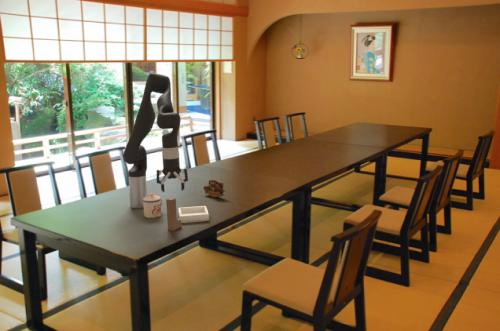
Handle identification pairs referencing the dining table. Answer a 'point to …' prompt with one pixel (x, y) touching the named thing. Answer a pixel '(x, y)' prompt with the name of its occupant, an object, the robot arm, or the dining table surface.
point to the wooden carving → (214, 188)
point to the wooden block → (172, 215)
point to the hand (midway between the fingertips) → (173, 191)
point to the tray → (193, 214)
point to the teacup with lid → (152, 206)
